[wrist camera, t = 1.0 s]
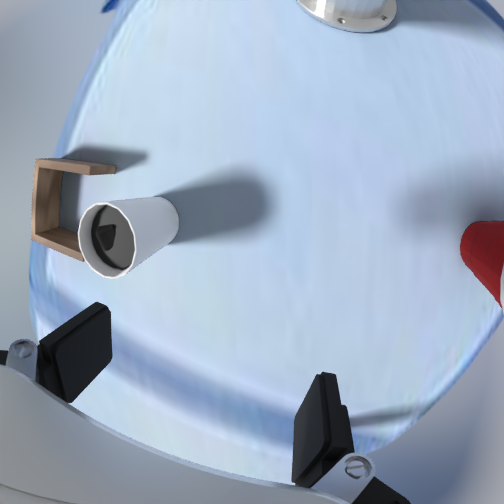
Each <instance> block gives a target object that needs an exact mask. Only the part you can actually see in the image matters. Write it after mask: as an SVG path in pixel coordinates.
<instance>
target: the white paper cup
mask: <svg viewBox="0 0 504 504" xmlns="http://www.w3.org/2000/svg"><path fill="white" fill-rule="evenodd" d="M178 229H179V216H178V214H177V211H176V209H175V207H174V206H173V205H172V204H171V203H170V202H169V200H166V199H164V198H162V197H147V198H136V199H126V200H117V201H108V202H100V203H95V204H94V205H92V206H91V207H89V208H88V209H86V211H85V213H84V214H83V216H82V218H81V220H80V224H79V230H78V239H79V247H80V250H81V252H82V255H83V257H84V259H85V261H86V262H87V264H88V265H89V266H90V267H91V269H92V270H93V271H94V272H96V273H97V274H99V275H101V276H102V277H104V278H112V279H116V278H118V277H121V276H123V275H125V274H127V273H128V272H130V271H131V270H132V269H134V268H135V267H136V266H138V265H139V264H140V263H142V262H143V261H145V260H146V259H147V258H149V257H150V256H152V255H153V254H154V253H156V252H157V251H159V250H160V249H161V248H163V247H164V246H166V245H167V244H169V243H170V242H171V241H172V240H173V239H174V238H175V236H176V235H177V232H178Z"/></svg>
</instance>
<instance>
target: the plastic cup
mask: <svg viewBox="0 0 504 504" xmlns="http://www.w3.org/2000/svg"><path fill="white" fill-rule="evenodd" d="M460 251H461V257H462V259H463V261H464V263H465V265H466V266H467V267H468V268H469V269H470V270H471V271H472V272H473V273H474V275H475V276H476V277H477V278H478V279H479V281H480V282H481V283H482V284H483V285H484V286H485V287H486V288H487V289H488V291H489V292H490V293H491V294H492V295H493V296H494V297H495V300H496V301H497V302H498V303H499V305H500V307H501V308H502V309H503V312H504V221H491V222H488V221H479V222H475V223H473V224H471V225H470V226H469V227H468V228H467V229H466V230H465V232H464V234H463V236H462V239H461V244H460Z"/></svg>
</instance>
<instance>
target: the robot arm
mask: <svg viewBox="0 0 504 504" xmlns="http://www.w3.org/2000/svg"><path fill="white" fill-rule="evenodd" d="M296 1H297V3H298V4H299V6H300V7H301V8H302V9H303V10H304V11H305V12H306V13H308V14H309V15H310V16H312V17H313V18H315V19H317V20H318V21H320V22H322V23H324V24H327V25H329V26H331V27H335V28H338V29H341V30H346V31H351V32H373V31H377V30H381V29H383V28H385V27H387V26H388V25H389V24H390V23H391V22H392V20H393V19H394V17H395V15H396V12H397V4H396V0H296ZM39 343H40V344H39V345H38V346H37V345H36V344H35V343H34V342H33V341H31V340H28V339H20V340H16V341H15V342H13V343H12V344H11V345H10V348H9V351H4V350H0V504H411V503H410V502H409V501H408V500H407V499H406V498H405V497H403V496H402V495H400V494H399V493H397V492H396V491H394V490H393V489H391V488H390V487H388V486H387V485H386V484H384V483H383V482H381V481H380V480H379V479H377V478H376V477H374V474H375V465H374V463H373V461H372V460H371V459H370V458H369V457H368V456H366V455H364V454H361V453H355V451H354V445H353V439H352V433H351V427H350V421H349V416H348V410H347V407H346V406H345V405H341V400H340V394H339V389H338V383H337V378H336V375H335V374H332V373H327V372H322V373H321V374H320V375H319V374H317V375H316V376H315V378H314V380H313V383H312V385H311V387H310V389H309V391H308V393H307V395H306V397H305V398H304V400H303V402H302V404H301V406H300V408H299V410H298V412H297V414H296V416H295V420H294V442H293V463H292V483H295V486H294V485H288V484H283V483H277V482H271V481H265V480H260V479H255V478H250V477H246V476H241V475H237V474H233V473H228V472H224V471H221V470H217V469H213V468H210V467H206V466H203V465H200V464H196V463H193V462H190V461H187V460H184V459H181V458H178V457H176V456H173V455H170V454H167V453H165V452H162V451H160V450H157V449H155V448H152V447H150V446H147V445H145V444H143V443H141V442H138V441H136V440H134V439H132V438H130V437H127V436H125V435H123V434H121V433H119V432H117V431H115V430H113V429H111V428H109V427H107V426H106V425H104V424H102V423H100V422H98V421H96V420H94V419H93V418H91V417H89V416H87V415H86V414H84V413H82V412H81V411H79V410H77V409H76V408H74V407H73V406H71V405H69V404H68V403H72V402H73V401H74V400H75V399H76V398H77V397H78V396H79V394H80V393H81V392H82V391H83V390H84V389H85V388H86V387H87V386H88V385H89V384H90V383H91V382H92V381H93V380H94V379H95V377H96V376H97V375H98V374H99V373H100V372H101V371H102V370H103V369H104V368H105V367H106V366H107V365H108V364H109V363H110V361H111V359H112V339H111V312H110V311H109V308H108V307H107V306H106V305H104V304H101V303H99V302H95V303H94V304H92V305H91V306H89V307H88V308H86V309H85V310H83V311H82V312H80V313H79V314H77V315H76V316H74V317H73V318H71V319H70V320H68V321H67V322H65V323H64V324H63V325H61V326H60V327H58V328H57V329H55V330H54V331H53V332H51V333H50V334H48V335H47V336H46V337H44V338H43V339H41V340H40V341H39Z"/></svg>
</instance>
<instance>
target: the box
mask: <svg viewBox="0 0 504 504" xmlns="http://www.w3.org/2000/svg"><path fill="white" fill-rule="evenodd" d="M115 170H116V166H114V165H108V164H101V163H94V162H87V161H79V160H71V159H63V158H48V159H36V162H35V170H34V180H33V193H32V217H31V237H32V240H33V241H36V242H38V243H40V244H42V245H45V246H47V247H49V248H51V249H54V250H56V251H58V252H61V253H63V254H65V255H68V256H70V257H73V258H75V259H77V260H80V261H82V262H84V261H85V259H84V257H83V255H82V252H81V250H80V247H79V239H78V233H75V232H72V231H69V230H66V229H63V228H60V227H59V212H60V197H61V186H62V177H63V171H67V172H73V173H79V174H85V175H101V174H115Z"/></svg>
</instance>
